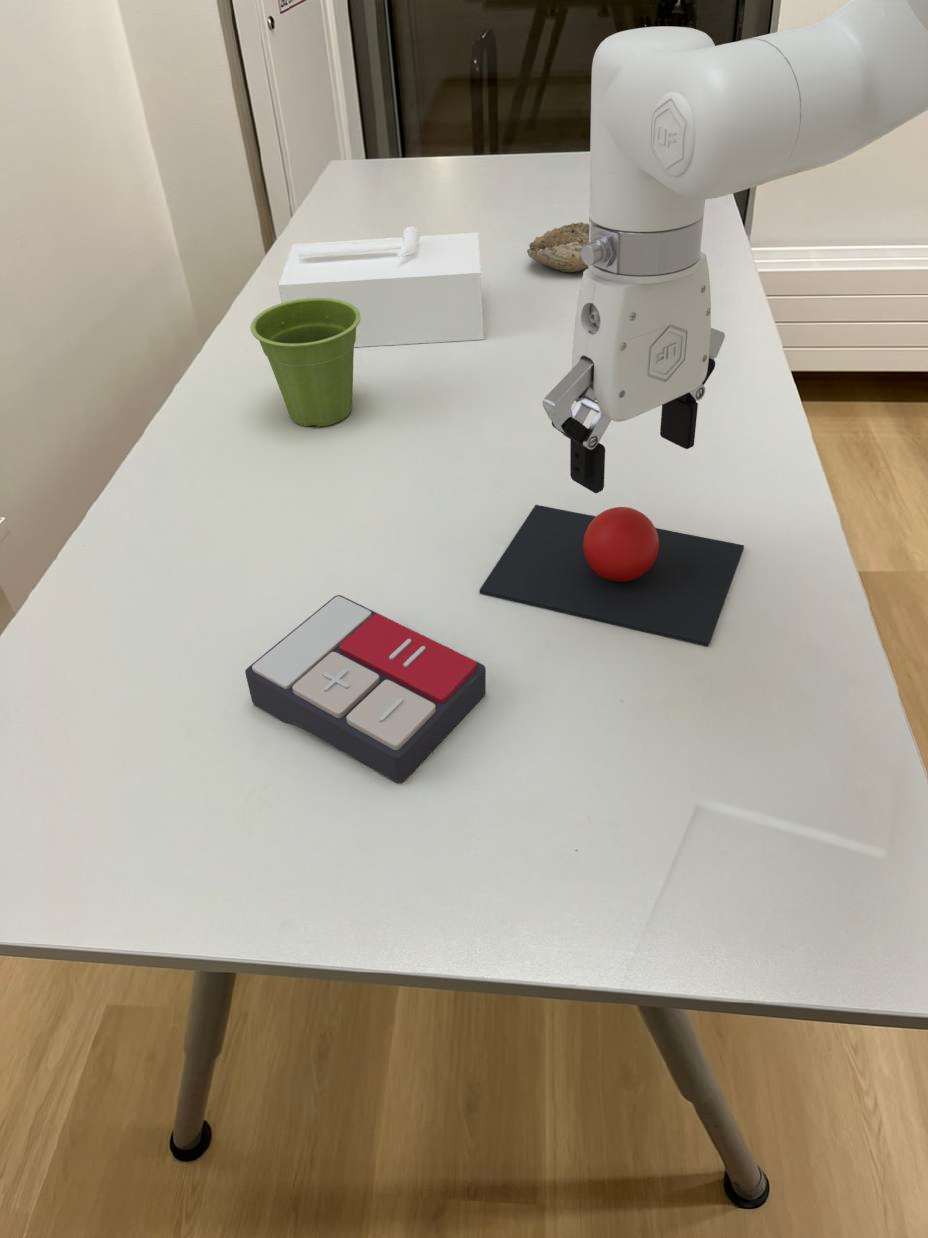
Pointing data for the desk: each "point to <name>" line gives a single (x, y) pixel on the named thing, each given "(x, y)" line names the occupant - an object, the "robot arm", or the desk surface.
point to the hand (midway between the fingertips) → (632, 463)
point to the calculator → (367, 686)
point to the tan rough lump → (561, 247)
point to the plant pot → (311, 356)
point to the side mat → (655, 602)
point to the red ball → (621, 544)
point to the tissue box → (395, 285)
